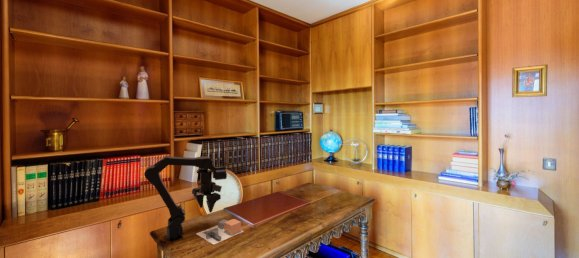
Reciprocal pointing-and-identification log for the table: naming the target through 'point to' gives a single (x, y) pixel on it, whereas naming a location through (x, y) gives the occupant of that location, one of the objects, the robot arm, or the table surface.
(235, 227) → the salmon orange cube
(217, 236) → the t key
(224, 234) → the panel
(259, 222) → the table surface
